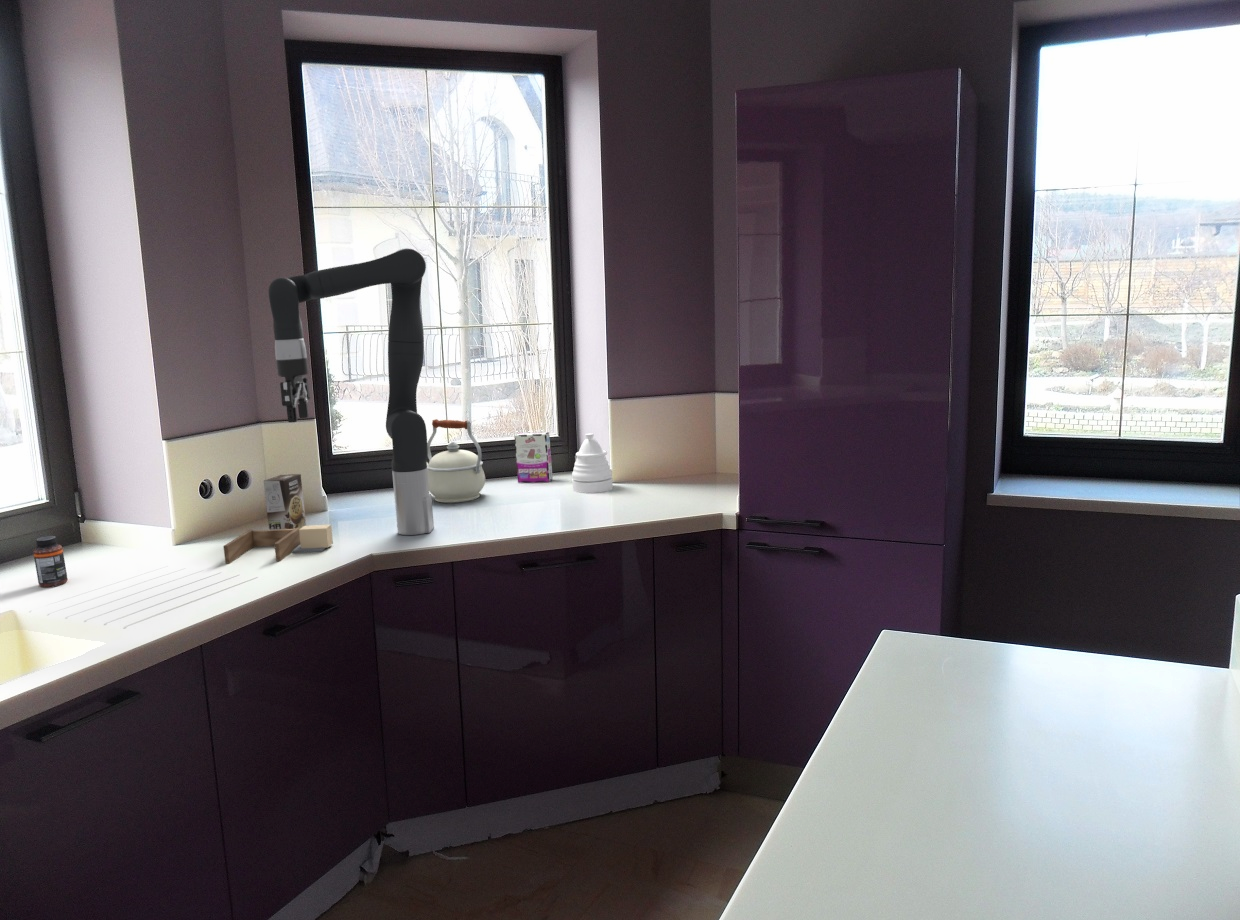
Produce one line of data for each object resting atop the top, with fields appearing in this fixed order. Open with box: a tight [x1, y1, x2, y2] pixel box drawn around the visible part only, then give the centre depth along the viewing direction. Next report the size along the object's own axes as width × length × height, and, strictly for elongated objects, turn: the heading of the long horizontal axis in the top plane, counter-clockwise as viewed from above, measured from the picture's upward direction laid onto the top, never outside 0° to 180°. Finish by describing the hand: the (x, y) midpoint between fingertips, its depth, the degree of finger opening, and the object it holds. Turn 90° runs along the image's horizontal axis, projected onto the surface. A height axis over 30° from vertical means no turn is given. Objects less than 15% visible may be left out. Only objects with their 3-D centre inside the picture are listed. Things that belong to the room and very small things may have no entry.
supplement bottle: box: [33, 535, 68, 588], centre depth 219 cm, size 6×6×11 cm
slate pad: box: [291, 544, 328, 554], centre depth 241 cm, size 8×8×1 cm
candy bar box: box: [514, 431, 553, 484], centre depth 314 cm, size 11×5×16 cm, turn 81°
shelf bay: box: [223, 528, 301, 565], centre depth 239 cm, size 14×17×4 cm
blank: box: [299, 524, 334, 549], centre depth 241 cm, size 4×7×5 cm, turn 90°
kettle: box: [427, 418, 486, 504], centre depth 293 cm, size 25×18×25 cm
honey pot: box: [571, 433, 614, 494], centre depth 297 cm, size 13×13×18 cm
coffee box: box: [263, 473, 307, 530], centre depth 257 cm, size 9×6×16 cm
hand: (298, 419), depth 242 cm, fingers open, 8 cm apart
